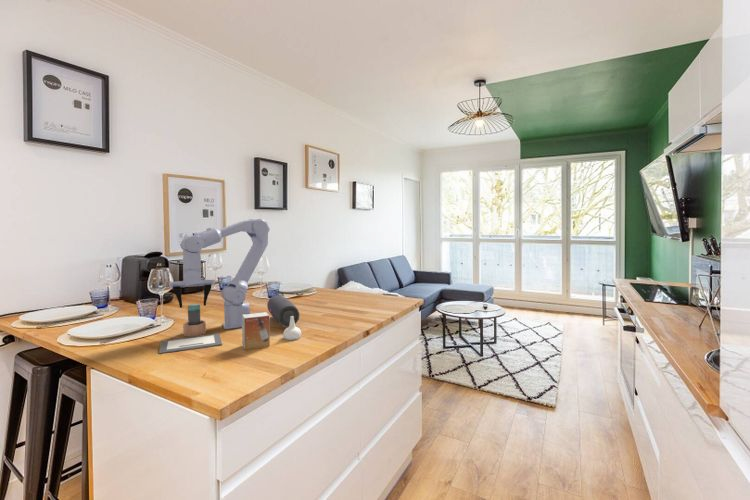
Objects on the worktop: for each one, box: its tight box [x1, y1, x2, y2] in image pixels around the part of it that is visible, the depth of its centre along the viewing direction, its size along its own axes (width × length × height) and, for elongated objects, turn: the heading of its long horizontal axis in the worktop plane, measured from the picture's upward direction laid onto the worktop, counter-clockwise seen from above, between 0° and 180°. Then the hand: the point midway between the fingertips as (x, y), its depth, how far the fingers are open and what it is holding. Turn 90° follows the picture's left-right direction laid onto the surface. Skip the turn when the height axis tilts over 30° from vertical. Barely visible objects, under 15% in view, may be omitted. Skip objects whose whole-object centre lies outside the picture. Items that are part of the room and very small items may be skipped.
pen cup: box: [182, 319, 207, 337], centre depth 128 cm, size 7×7×4 cm
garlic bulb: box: [282, 316, 302, 341], centre depth 123 cm, size 6×6×8 cm
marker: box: [187, 303, 202, 325], centre depth 127 cm, size 4×4×10 cm
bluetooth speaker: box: [266, 294, 300, 328], centre depth 142 cm, size 23×9×10 cm, turn 27°
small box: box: [241, 311, 271, 351], centre depth 115 cm, size 8×6×10 cm
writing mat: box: [158, 332, 223, 355], centre depth 117 cm, size 18×13×1 cm
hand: (193, 306), depth 127 cm, fingers open, 7 cm apart
